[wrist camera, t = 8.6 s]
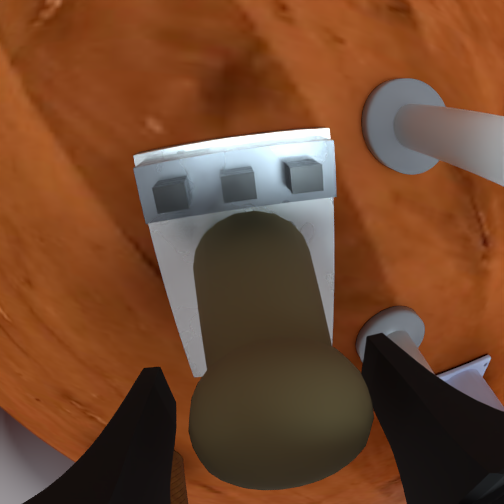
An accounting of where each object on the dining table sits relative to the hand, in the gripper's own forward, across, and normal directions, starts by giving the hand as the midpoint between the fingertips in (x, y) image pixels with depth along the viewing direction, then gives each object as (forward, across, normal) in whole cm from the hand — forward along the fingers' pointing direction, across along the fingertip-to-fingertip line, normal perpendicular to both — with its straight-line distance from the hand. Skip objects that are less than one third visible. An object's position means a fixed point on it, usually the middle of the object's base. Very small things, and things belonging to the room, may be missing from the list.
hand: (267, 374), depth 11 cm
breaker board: (+8, 0, 0) cm, 8 cm away
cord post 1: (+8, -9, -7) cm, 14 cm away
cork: (+7, 0, 0) cm, 7 cm away
